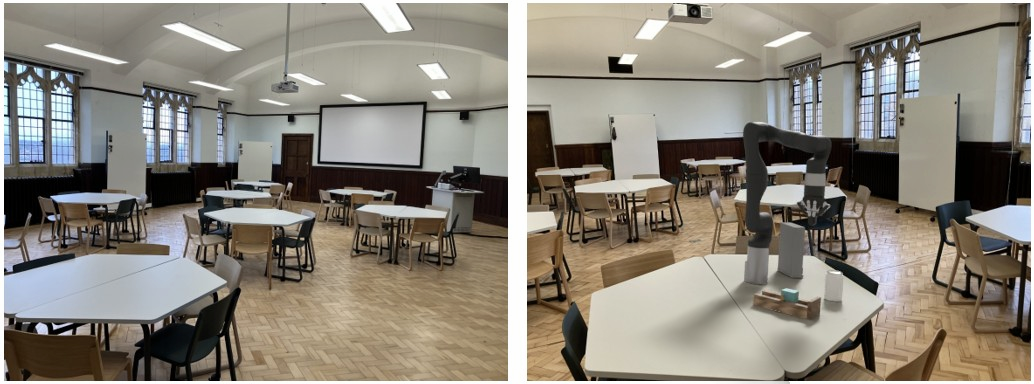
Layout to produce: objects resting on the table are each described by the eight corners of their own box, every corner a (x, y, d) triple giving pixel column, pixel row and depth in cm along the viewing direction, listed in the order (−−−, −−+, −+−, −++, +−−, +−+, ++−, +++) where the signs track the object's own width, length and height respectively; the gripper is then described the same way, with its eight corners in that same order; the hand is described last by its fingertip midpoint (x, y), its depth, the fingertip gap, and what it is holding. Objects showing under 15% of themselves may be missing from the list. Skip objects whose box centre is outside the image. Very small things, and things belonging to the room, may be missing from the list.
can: (844, 302, 216) (846, 274, 215) (827, 301, 217) (829, 273, 216) (838, 297, 222) (840, 270, 221) (821, 296, 224) (823, 269, 222)
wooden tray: (753, 304, 214) (754, 288, 213) (763, 300, 219) (764, 284, 219) (809, 320, 197) (811, 302, 196) (819, 314, 202) (821, 297, 201)
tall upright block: (803, 278, 252) (807, 227, 249) (791, 278, 252) (794, 227, 249) (789, 270, 265) (792, 222, 262) (777, 270, 265) (780, 222, 262)
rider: (780, 302, 207) (781, 290, 207) (785, 300, 210) (785, 288, 209) (793, 305, 204) (794, 293, 203) (798, 303, 206) (798, 291, 205)
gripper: (794, 183, 217) (791, 224, 219) (828, 186, 207) (825, 228, 209) (801, 182, 222) (799, 222, 224) (836, 184, 212) (833, 226, 214)
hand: (812, 225), depth 217 cm, fingers closed
